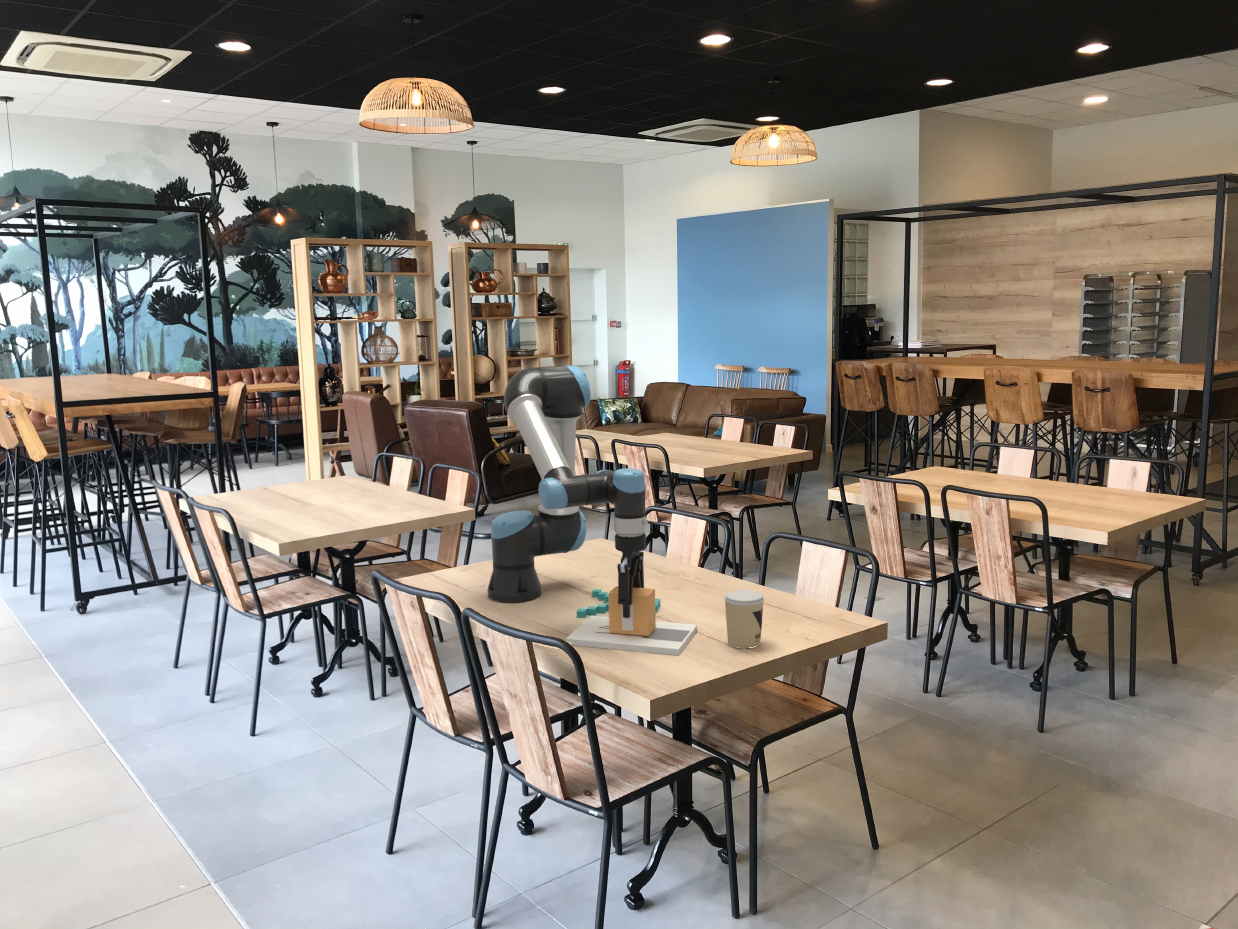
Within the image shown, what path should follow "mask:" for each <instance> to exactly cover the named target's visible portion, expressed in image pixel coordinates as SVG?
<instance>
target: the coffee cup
mask: <svg viewBox="0 0 1238 929" xmlns="http://www.w3.org/2000/svg"><path fill="white" fill-rule="evenodd" d="M764 602H765V597H764V596H763V593H761V592H759V591H755V590H751V589H737V590H736V589H735V590H731V591H728V592H726V594H725V595H724V605H725V606H724V607H725V608H724V609H725V621H726V635H727V637H726V638H727V643H728V645H729V646H730V645H731V646H730V647H732V646H733V648H734V647H737V648H736V649H739V648H749V647H754V646H757V645H759V644H760V645H761V640H762V629H763V628H762V626H763V613H764ZM760 645H759V646H760ZM738 647H739V648H738Z"/></svg>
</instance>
